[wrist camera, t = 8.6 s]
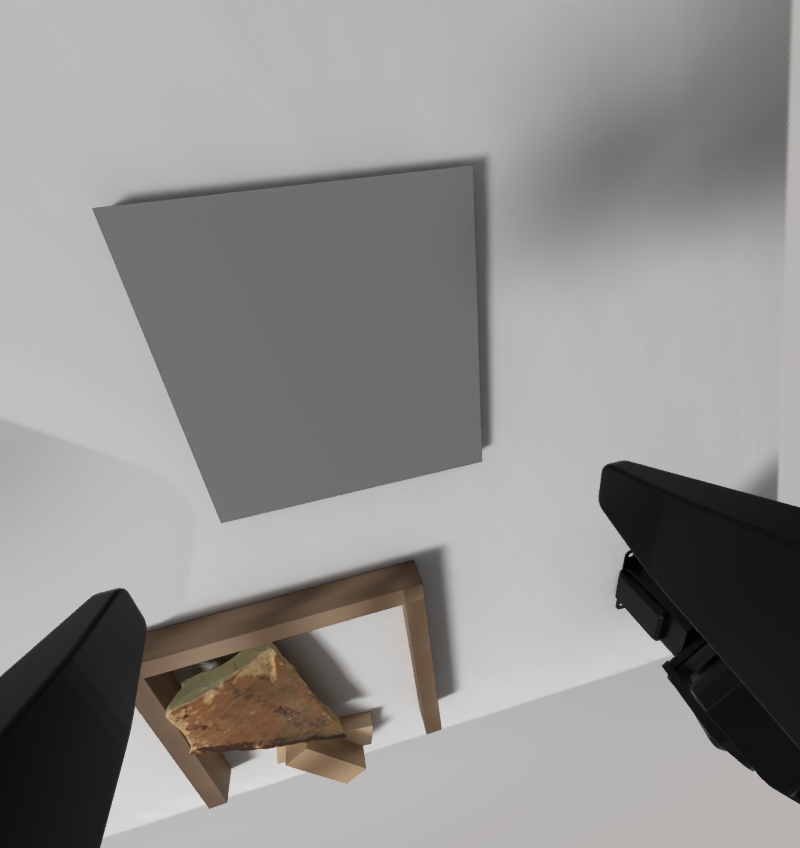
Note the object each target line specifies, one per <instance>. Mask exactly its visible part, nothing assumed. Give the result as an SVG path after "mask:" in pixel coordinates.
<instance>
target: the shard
mask: <svg viewBox="0 0 800 848" xmlns="http://www.w3.org/2000/svg"><path fill="white" fill-rule="evenodd" d="M166 718H167V719H168V720H169V721H170V722H171V723H172V724H174V725H175V726H176V727H177V728H179V730H180V731H181V732H183V733H184V735H185V736H186V737H187V740H188V742H189V743H190V745H191V749H190V755H192V754H209V753H226V752H229V751H233V750H239V751H247V750H256V749H269V748H274V747H282V746H287V745H295V744H299V743H306V742H310V741H316V740H326V739H336V738H345V737H346V735H345V733H344V731H343V729H342V726H341V725H340V721H339V718H338V716H337V715H335V714H333V713H332V711H331V709H330V708H328V707H327V706H326V705H325V704H323V703H321V701H320V700H319V699H318V698H317V696H316V695H315V694H314V693H313V692H312V691H311V690H310V689H309V687H308V685H307V684H306V683H305V682H304V680H302V679H301V678H300V676H299V674H298V673H297V671H296V669H295V668H294V666H293V665H292V664H291V663H290V662H289V661H288V660H287V659H286V658H284V657H283V656H282V655H281V653H280V651H279V650H278V648H277V647H276V645H274V644H273V643H272V642H270V643H267V644H263V645H260V646H256V647H253V648H249V649H246V650H242V651H240V652H239V653H238V654H237V655H235V656H234V657H233V658H232V659H231V660H229V661H227V662H226V663H224V664H222V665H221V666H218V667H216V668H212V669H210V670H207V671H204V672H201V673H200V674H197V675H195V676H193V677H191V678H189V679H186V680H184V681H183V682H182V688H181V689H180V691H179V692H178V693H177V694H176V696H175V697H174V699H173V700H172V701H171V703H170V704H169V705H168V707H167V710H166Z"/></svg>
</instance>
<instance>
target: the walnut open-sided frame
mask: <svg viewBox="0 0 800 848" xmlns="http://www.w3.org/2000/svg"><path fill="white" fill-rule="evenodd" d="M399 605H402V606H403V611H404V617H405V623H406V629H407V635H408V641H409V647H410V653H411V659H412V665H413V671H414V677H415V683H416V689H417V695H418V701H419V707H420V711H421V715H422V718H423V722H424V726H425V730H426V734H429V733H432V732H435V731H438V730H441V721H440V713H439V706H438V698H437V690H436V683H435V675H434V667H433V659H432V652H431V644H430V636H429V629H428V621H427V613H426V606H425V598H424V590H423V584H422V581H421V578H420V575H419V573H418V570H417V567H416V565H415V562H414V560H413V561H409V562H406V563H402V564H398V565H395V566H391V567H387V568H383V569H380V570H376V571H372V572H369V573H365V574H361V575H357V576H354V577H350V578H346V579H343V580H339V581H335V582H332V583H328V584H324V585H320V586H317V587H313V588H309V589H306V590H302V591H298V592H294V593H291V594H287V595H283V596H280V597H276V598H272V599H269V600H265V601H261V602H257V603H254V604H250V605H246V606H243V607H239V608H235V609H231V610H228V611H224V612H220V613H217V614H213V615H209V616H206V617H202V618H198V619H194V620H191V621H187V622H183V623H180V624H176V625H172V626H168V627H165V628H161V629H157V630H154V631H150V632H147V633H146V640H145V646H144V653H143V659H142V665H141V671H140V678H139V684H138V690H137V696H136V703H135V707H136V708H137V709H138V711H139V712H140V714H141V715H142V716H143V718H144V719H145V720H146V722H147V723H148V725H149V726H150V727H151V729H152V730H153V731H154V733H155V734H156V736H157V737H158V738H159V740H160V741H161V742H162V744H163V745H164V747H165V748H166V749H167V751H168V752H169V754H170V755H171V756H172V758H173V759H174V760H175V762H176V763H177V765H178V766H179V767H180V769H181V770H182V771H183V773H184V774H185V776H186V777H187V778H188V780H189V781H190V782H191V784H192V785H193V787H194V788H195V789H196V791H197V792H198V794H199V795H200V796H201V798H202V799H203V800H204V802H205V803H206V805H207V806H208V807H209V809H210V808H213V807H216V806H218V805H221V804H224V803H227V799H228V791H229V782H230V774H231V769H230V767H229V765H228V764H227V762H226V760H225V759H224V757H223V755H222V754H221V753H209V754H192V755H190V749H191V745H190V743H189V742H188V740H187V737H186V736H185V735H184V733H183V732H181V731H180V730H179V728H177V727H176V726H175V725H174V724H172V723H171V722H170V721H169V720H168V719H167V718H166V710H167V707H168V705H169V704H170V703H171V701H172V700H173V699H174V697H175V696H176V694H177V693H178V692H179V691H180V689H181V687H180V685H179V684H178V682H177V680H176V679H175V677H174V676H173V674H172V672H171V671H172V670H176V669H179V668H183V667H186V666H190V665H193V664H197V663H200V662H204V661H207V660H211V659H214V658H218V657H221V656H225V655H228V654H232V653H235V652H239V651H242V650H246V649H249V648H253V647H256V646H260V645H263V644H267V643H270V642H274V641H277V640H281V639H284V638H288V637H291V636H295V635H298V634H302V633H305V632H309V631H312V630H316V629H319V628H323V627H326V626H330V625H333V624H337V623H340V622H344V621H347V620H350V619H354V618H357V617H361V616H364V615H368V614H371V613H375V612H378V611H382V610H385V609H389V608H392V607H396V606H399Z"/></svg>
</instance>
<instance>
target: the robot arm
mask: <svg viewBox="0 0 800 848" xmlns="http://www.w3.org/2000/svg"><path fill="white" fill-rule="evenodd" d="M599 503H600V506H601V508H602V510H603V511H604V513H605V514H606V516H607V517H608V518H609V520H610V521H611V523H612V524H613V525H614V527H615V528H616V530H617V531H618V532H619V534H620V535H621V537H622V538H623V539H624V541H625V542H626V544H627V545H628V546H629V548H630V549H631V550H630V551H628V552H627V553H626V554H625V558H624V563H623V569H622V572H620V574H619V579H618V585H617V590H616V598H617V602H616V608H617V609H622V608H626V609H627V611H628V612H629V613H630V614H631V615H632V616H633V617H634V618H635V620H636V621H637V622H638V623H639V624H640V625H641V626H642V628H643V629H644V630H645V631H646V632H647V633H648V634H649V635H650V637H651V638H652V639H654V640H655V641H658V640H660V641H661V642H662V643H663V644H664V645H665V646H666V647H667V648H668V649H669V651H670V652H671V653H672V654H673V655H674V656H675V657H674V658H672V659H671V660H670V661H666V662H665V663H664V664H663V665H662V667H663V668H664V670H665V671H666V672H667V674H668V679H669V680H670V682H671V683H672V684H673V685H674V686H675V688H676V689H677V690H678V692H679V693H680V695H681V696H682V697H683V699H684V700H685V702H687V704H688V706H689V707H690V708H691V710H692V711H693V713H694V714H695V716H696V718H697V719H698V721H699V723H700V724H701V726H702V728H703V729H704V731H705V733H706V735H707V736H708V738H709V740H710V741H711V742H712V743H713V745H714V746H715V747H717V748H718V749H721V750H724V751H728V752H729V753H730V754H731V755H732V756H734V757H735V758H736V759H737V760H738V761H739V762H740V763H742V764H743V765H744V766H745V767H747V768H748V769H750V770H752V771H756V772H757V774H758V775H759V776H760V777H761V778H762V779H763V780H764V781H765V782H766V783H767V784H768V785H769V786H771V787H772V788H774V789H775V790H777V791H779V792H780V793H782V794H784V795H785V796H787V797H789V798H791V799H792V800H794V801H796V802H797V803H799V804H800V507H796V506H792V505H789V504H785V503H781V502H778V501H774V500H770V499H767V498H763V497H759V496H756V495H752V494H748V493H744V492H741V491H737V490H733V489H730V488H726V487H722V486H719V485H715V484H711V483H707V482H704V481H700V480H696V479H693V478H689V477H685V476H681V475H678V474H674V473H670V472H667V471H663V470H659V469H656V468H652V467H648V466H644V465H641V464H637V463H633V462H630V461H618V462H614V463H610V464H607V465H606V466H604V468H603V469H602V474H601V482H600V490H599ZM630 553H633V556H631V557H628V556H629V554H630ZM619 604H622V606H619ZM146 633H147V628H146V622H145V619H144V617H143V616H142V614H141V612H140V611H139V609H138V608H137V606H136V604H135V603H134V601H133V599H132V598H131V596H130V594H129V593H128V592H127V591H126V590H125V589H122V588H117V589H113V590H109V591H105V592H101V593H98V594H96V595H93V596H92V597H91V598H90V599H88V600H87V601H86V602H85V603H84V604H83V605H82V606H81V607H79V608H78V609H77V610H76V611H75V612H74V613H72V614H71V615H70V616H69V617H68V618H67V619H66V620H64V621H63V622H62V623H61V624H60V625H59V626H58V627H57V628H55V629H54V630H53V631H52V632H51V633H50V634H48V635H47V636H46V637H45V638H44V639H43V640H42V641H40V642H39V643H38V644H37V645H36V646H35V647H34V648H33V649H31V650H30V651H29V652H28V653H27V654H26V655H25V656H24V657H22V658H21V659H20V660H19V661H18V662H17V663H16V664H14V665H13V666H12V667H11V668H10V669H9V670H7V671H6V672H5V673H4V674H3V675H2V676H1V677H0V848H100V846H101V842H102V838H103V835H104V831H105V827H106V823H107V819H108V816H109V812H110V808H111V804H112V801H113V797H114V793H115V789H116V785H117V782H118V778H119V774H120V770H121V767H122V763H123V759H124V755H125V751H126V747H127V743H128V739H129V735H130V731H131V726H132V720H133V715H134V709H135V703H136V696H137V690H138V684H139V678H140V671H141V665H142V659H143V653H144V646H145V640H146Z"/></svg>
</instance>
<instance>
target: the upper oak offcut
mask: <svg viewBox="0 0 800 848" xmlns="http://www.w3.org/2000/svg"><path fill="white" fill-rule="evenodd" d="M286 766H290V767H293V768H296V769H300V770H303V771H306V772H310V773H313V774H317V775H320V776H323V777H326V778H330V779H333V780H336V781H340V782H343V783H348V782H350V781H351V780H352V779H353V778H355V777H356V776H357V775H358V774H360V773H361V772H362V771H364V770H365V769H366V765H365V757H364V750H363V746H361V745H358V744H356V743H353V742H350V741H347V740H345V739H342V738H336V739H326V740H316V741H310V742H306V743H299V744H295V745H287V746H286Z"/></svg>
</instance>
